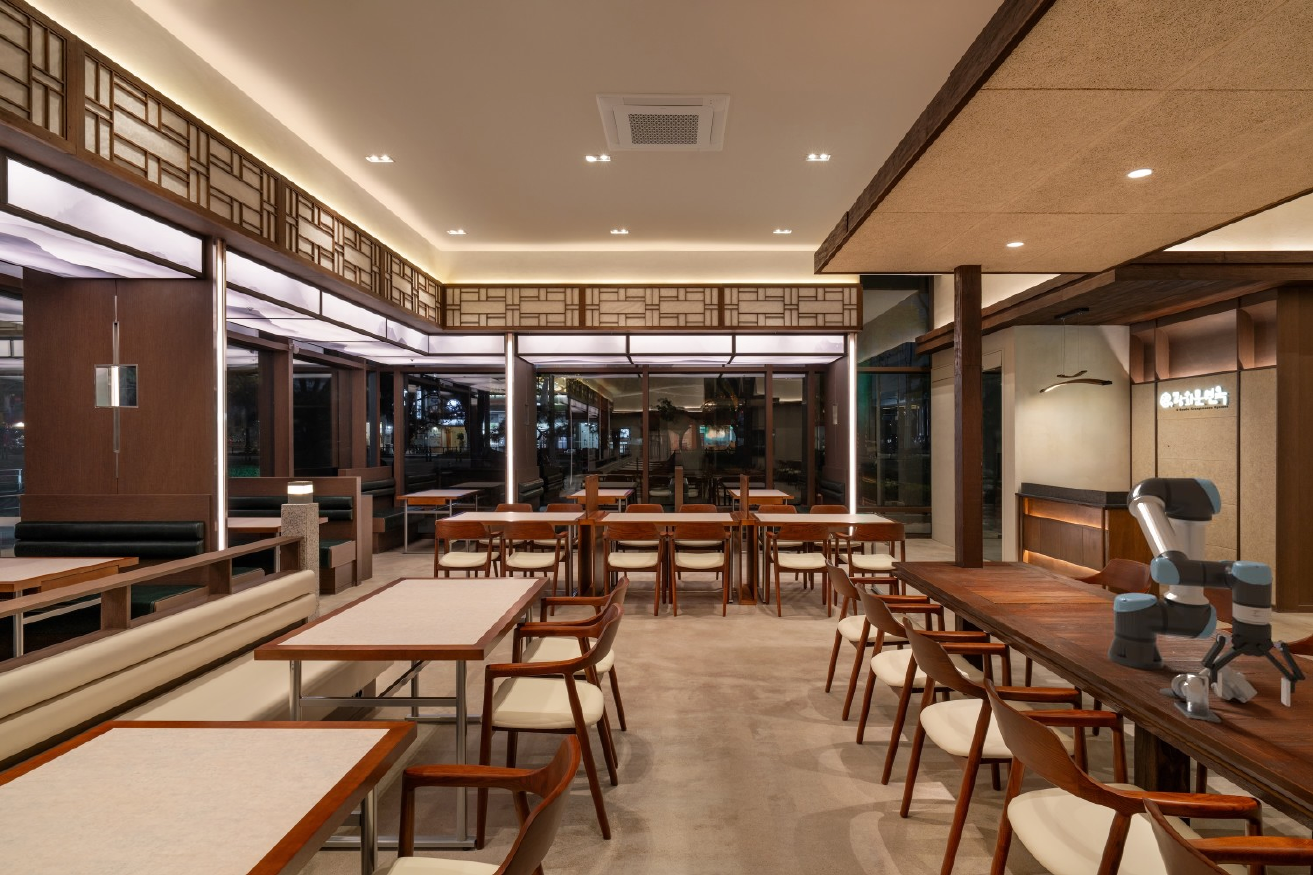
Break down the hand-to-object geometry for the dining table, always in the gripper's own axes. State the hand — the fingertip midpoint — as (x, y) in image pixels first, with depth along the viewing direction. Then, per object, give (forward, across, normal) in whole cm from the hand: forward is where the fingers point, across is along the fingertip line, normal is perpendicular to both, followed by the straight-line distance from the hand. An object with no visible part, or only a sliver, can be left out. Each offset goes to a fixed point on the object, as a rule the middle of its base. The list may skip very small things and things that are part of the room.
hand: (1251, 699), depth 162 cm
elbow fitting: (+7, -10, +3) cm, 13 cm away
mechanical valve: (+11, 0, +19) cm, 22 cm away
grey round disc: (+8, -12, +17) cm, 22 cm away
